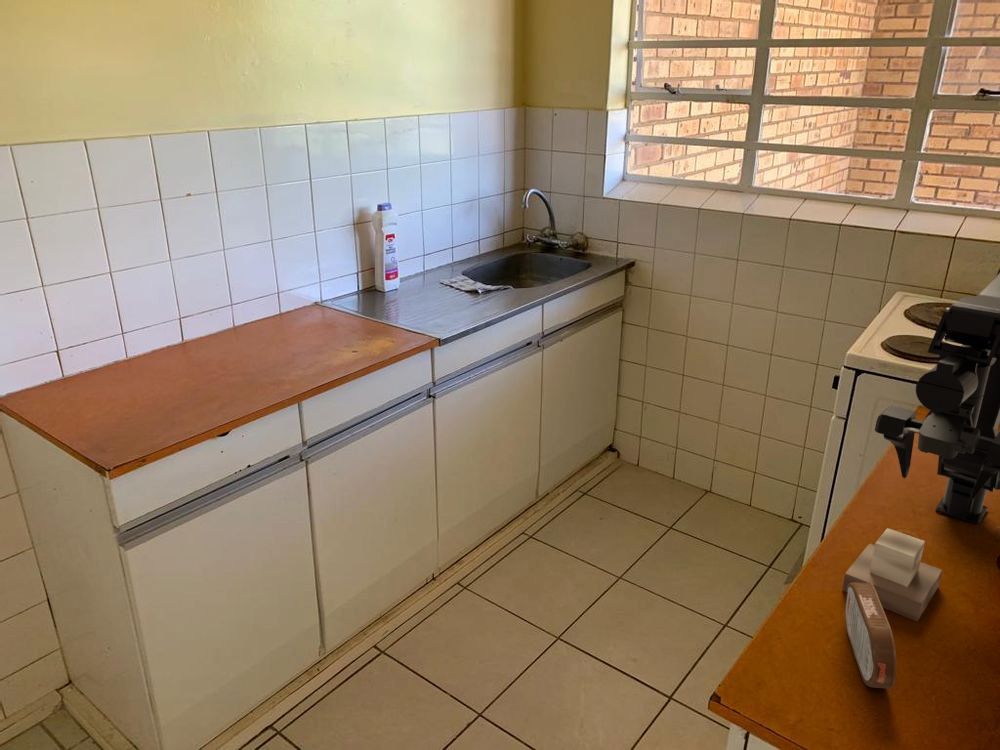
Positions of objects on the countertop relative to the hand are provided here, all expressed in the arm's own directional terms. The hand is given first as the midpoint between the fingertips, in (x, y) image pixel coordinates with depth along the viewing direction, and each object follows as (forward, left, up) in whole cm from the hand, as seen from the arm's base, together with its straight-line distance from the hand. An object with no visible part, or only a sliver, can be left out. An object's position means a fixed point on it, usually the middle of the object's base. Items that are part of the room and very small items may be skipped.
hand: (937, 487), depth 112 cm
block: (+12, -1, -9) cm, 15 cm away
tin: (+29, +1, -12) cm, 32 cm away
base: (+12, -1, -12) cm, 17 cm away
